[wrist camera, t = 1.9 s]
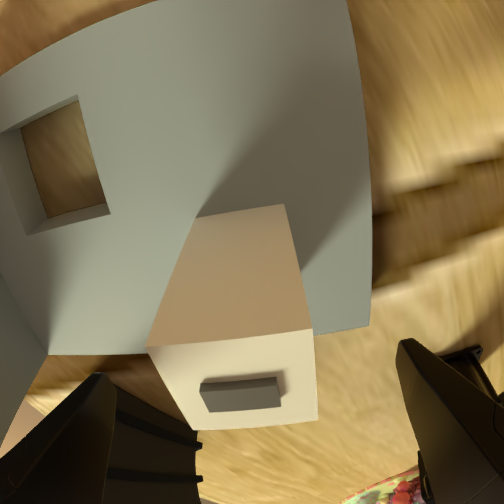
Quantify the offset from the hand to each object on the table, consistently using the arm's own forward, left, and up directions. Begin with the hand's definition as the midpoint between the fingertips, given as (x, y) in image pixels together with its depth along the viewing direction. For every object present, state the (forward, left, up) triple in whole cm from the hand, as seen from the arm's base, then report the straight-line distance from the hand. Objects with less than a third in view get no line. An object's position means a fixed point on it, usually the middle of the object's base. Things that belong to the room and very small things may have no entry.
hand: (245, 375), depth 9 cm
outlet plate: (+6, -3, -10) cm, 12 cm away
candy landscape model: (-18, +56, -10) cm, 60 cm away
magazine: (+12, +17, -10) cm, 23 cm away
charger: (0, 0, -7) cm, 7 cm away
